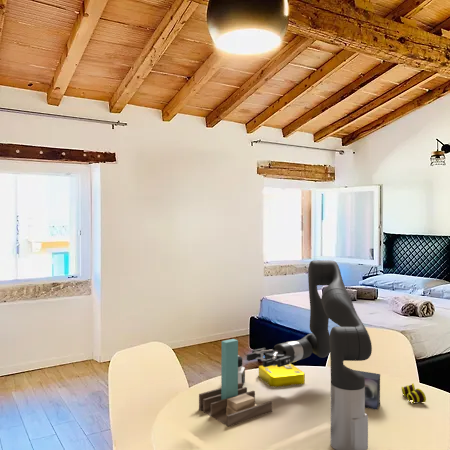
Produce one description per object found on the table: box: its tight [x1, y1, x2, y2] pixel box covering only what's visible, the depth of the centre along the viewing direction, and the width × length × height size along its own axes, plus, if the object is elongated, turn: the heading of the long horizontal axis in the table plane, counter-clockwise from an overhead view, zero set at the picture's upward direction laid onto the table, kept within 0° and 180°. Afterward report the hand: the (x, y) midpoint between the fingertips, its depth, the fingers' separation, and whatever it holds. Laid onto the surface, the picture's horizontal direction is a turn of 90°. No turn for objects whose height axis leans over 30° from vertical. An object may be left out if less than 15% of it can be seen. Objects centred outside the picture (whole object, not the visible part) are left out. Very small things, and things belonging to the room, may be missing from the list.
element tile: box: [258, 363, 306, 388], centre depth 177 cm, size 15×15×5 cm
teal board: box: [220, 338, 239, 400], centre depth 146 cm, size 2×5×22 cm, turn 128°
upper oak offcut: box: [227, 394, 256, 412], centre depth 140 cm, size 5×8×2 cm, turn 128°
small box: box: [354, 369, 381, 410], centre depth 153 cm, size 11×6×10 cm, turn 62°
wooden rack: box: [198, 382, 273, 427], centre depth 143 cm, size 16×18×6 cm
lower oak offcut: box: [226, 403, 257, 415], centre depth 140 cm, size 5×9×2 cm, turn 128°
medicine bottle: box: [238, 355, 246, 386], centre depth 167 cm, size 7×7×12 cm
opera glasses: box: [401, 383, 427, 404], centre depth 157 cm, size 10×5×5 cm, turn 0°
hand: (255, 360), depth 153 cm, fingers open, 8 cm apart
